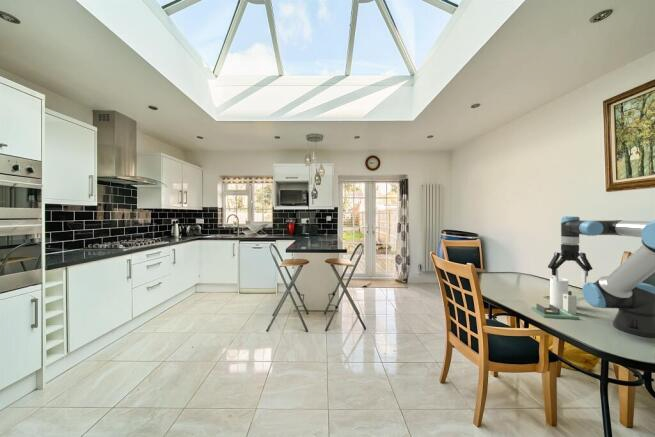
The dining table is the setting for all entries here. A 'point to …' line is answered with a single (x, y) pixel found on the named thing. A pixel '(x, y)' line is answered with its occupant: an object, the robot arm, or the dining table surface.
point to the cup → (558, 291)
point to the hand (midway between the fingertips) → (569, 281)
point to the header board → (553, 312)
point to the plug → (569, 302)
